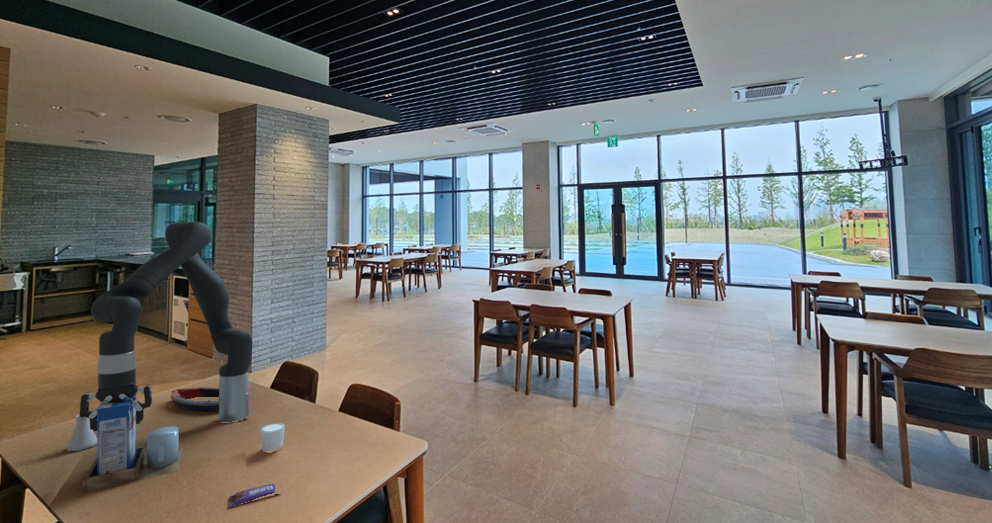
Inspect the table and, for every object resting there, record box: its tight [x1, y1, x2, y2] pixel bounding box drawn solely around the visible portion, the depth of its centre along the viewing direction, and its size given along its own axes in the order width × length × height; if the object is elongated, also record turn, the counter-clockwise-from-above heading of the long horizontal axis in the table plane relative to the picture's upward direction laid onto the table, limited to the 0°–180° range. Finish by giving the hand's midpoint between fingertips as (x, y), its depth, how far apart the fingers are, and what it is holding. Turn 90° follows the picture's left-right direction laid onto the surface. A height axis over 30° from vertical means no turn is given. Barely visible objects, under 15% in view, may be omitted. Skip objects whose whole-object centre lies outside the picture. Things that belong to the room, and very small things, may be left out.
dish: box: [170, 386, 219, 412], centre depth 161 cm, size 16×31×5 cm, turn 71°
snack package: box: [228, 483, 276, 508], centre depth 103 cm, size 12×2×5 cm
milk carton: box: [96, 393, 137, 476], centre depth 110 cm, size 10×6×20 cm, turn 34°
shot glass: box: [260, 422, 286, 451], centre depth 127 cm, size 7×7×7 cm
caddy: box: [82, 445, 184, 493], centre depth 112 cm, size 19×15×4 cm
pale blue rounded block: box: [146, 426, 180, 469], centre depth 115 cm, size 7×8×9 cm
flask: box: [65, 414, 97, 452], centre depth 126 cm, size 7×7×10 cm
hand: (117, 426), depth 109 cm, fingers open, 8 cm apart
